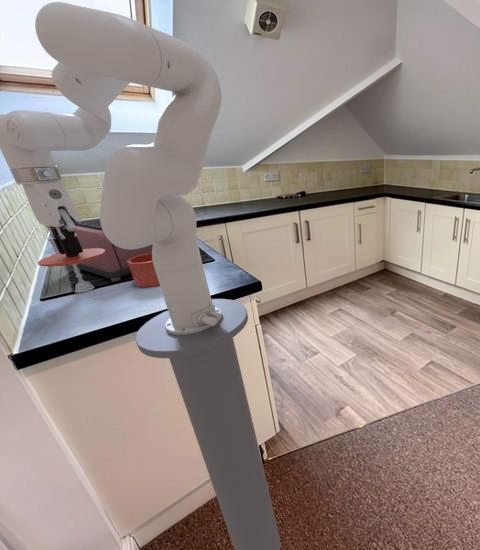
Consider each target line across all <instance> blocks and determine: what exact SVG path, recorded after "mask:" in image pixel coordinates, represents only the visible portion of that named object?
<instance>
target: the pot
mask: <svg viewBox="0 0 480 550" xmlns="http://www.w3.org/2000/svg"><path fill="white" fill-rule="evenodd" d="M127 263H128V265H129V268H130V271H131V274H130V275H131V277H132V279H133V282H134V285H135V286H136V287H137V288H153V287H158V286H160V284H159V281H158V278H157V274H156V271H155V268H154V265H153V261H152V253H147V254H142V255H138V256H135V257H133V258H130V259H129V260H127Z"/></svg>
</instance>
